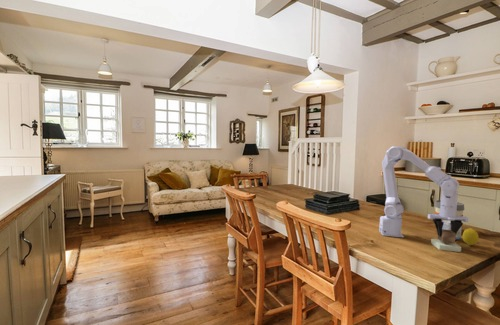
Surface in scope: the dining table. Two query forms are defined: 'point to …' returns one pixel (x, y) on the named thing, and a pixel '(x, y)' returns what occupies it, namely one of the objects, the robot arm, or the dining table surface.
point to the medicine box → (448, 227)
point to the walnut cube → (447, 236)
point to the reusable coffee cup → (458, 213)
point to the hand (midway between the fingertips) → (446, 236)
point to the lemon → (470, 236)
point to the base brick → (445, 245)
